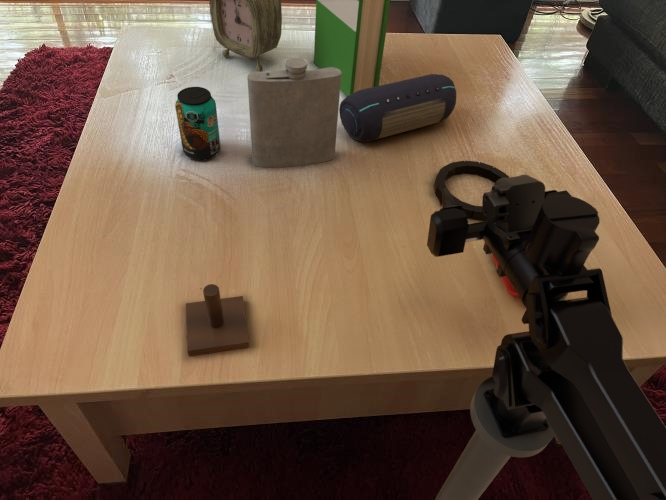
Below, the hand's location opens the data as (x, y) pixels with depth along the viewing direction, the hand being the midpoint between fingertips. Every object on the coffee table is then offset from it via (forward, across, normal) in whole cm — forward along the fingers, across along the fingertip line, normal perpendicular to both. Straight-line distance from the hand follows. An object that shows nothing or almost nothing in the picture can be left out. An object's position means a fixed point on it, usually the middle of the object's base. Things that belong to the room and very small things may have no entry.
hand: (474, 185), depth 73 cm
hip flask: (+30, +22, +12) cm, 39 cm away
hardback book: (+60, +5, +12) cm, 62 cm away
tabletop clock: (+70, +26, +10) cm, 75 cm away
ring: (+16, -9, +16) cm, 24 cm away
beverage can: (+35, +39, +11) cm, 53 cm away
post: (-6, +38, +13) cm, 41 cm away
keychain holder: (-5, -8, +15) cm, 18 cm away
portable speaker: (+39, -1, +14) cm, 41 cm away
